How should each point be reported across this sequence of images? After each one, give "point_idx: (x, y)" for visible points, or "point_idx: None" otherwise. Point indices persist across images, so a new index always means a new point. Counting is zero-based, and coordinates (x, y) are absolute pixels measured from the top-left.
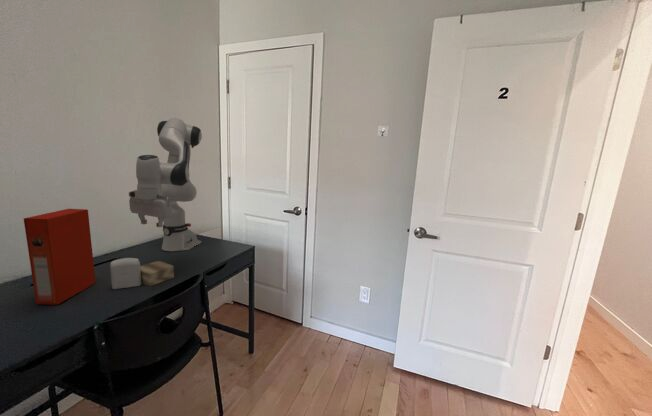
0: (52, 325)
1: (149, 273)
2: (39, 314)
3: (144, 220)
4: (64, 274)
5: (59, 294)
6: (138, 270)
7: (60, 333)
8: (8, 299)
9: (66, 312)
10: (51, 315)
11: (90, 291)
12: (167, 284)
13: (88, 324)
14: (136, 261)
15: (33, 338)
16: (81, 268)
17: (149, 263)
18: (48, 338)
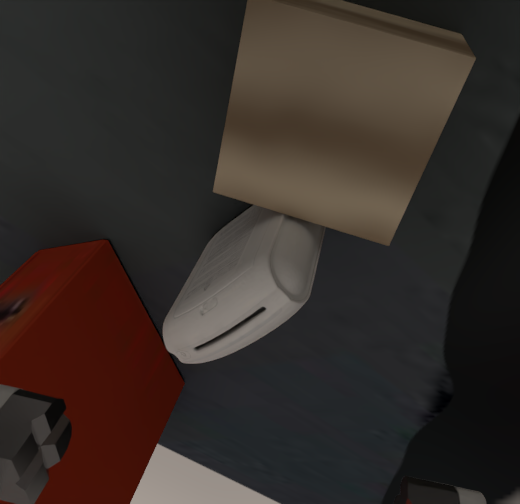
0: (296, 454)
1: (382, 235)
2: (200, 421)
3: (24, 490)
4: (123, 444)
5: (168, 404)
6: (311, 262)
7: (357, 476)
8: None
9: (258, 408)
10: (236, 422)
11: (172, 296)
12: (479, 143)
13: (393, 447)
14: (294, 309)
15: (314, 490)
16: (86, 372)
17: (234, 88)
18: (349, 490)
